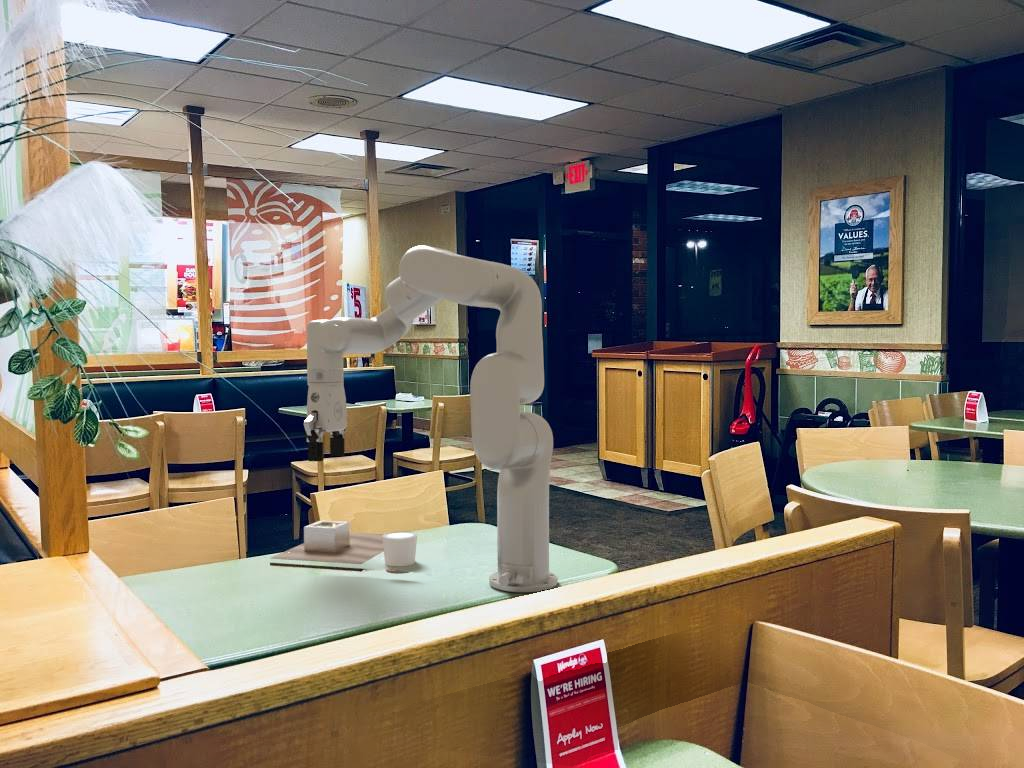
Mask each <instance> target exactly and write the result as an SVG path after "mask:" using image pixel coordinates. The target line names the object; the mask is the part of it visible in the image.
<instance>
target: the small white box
mask: <svg viewBox="0 0 1024 768" xmlns="http://www.w3.org/2000/svg"><path fill="white" fill-rule="evenodd" d="M323 526H333V527H323ZM349 533H350V521H338V520H337V521H335V520H317V521H315V522H313V523H310V524H308V525H306V526H304V527H303V543H304V551H320V552H336V551H338V550H340V549H342V548H344V547H346V546H348V545H350V535H349Z"/></svg>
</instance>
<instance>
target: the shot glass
mask: <svg viewBox="0 0 1024 768" xmlns="http://www.w3.org/2000/svg"><path fill="white" fill-rule="evenodd" d="M382 537H383V547H384V551H383V556H384V564H385V565H387V566H390V567H405V566H406V567H407V566H411V565H414V564H415V563H416V553H417V540H418V534H417V533H416V532H411V531H392V532H387V533H384V535H383V536H382ZM385 572H386V573H389V574H395V575H397V574H398V575H400V574H401V575H402V574H409V573H410V571H409V570H408V571H404V570H391V569H389V570H388V569H385Z"/></svg>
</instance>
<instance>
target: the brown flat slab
mask: <svg viewBox="0 0 1024 768" xmlns="http://www.w3.org/2000/svg"><path fill="white" fill-rule="evenodd" d="M384 534H385V533H384ZM384 534H383V533H364V532H363V533H362V532H349V535H350V545H348V546H346V547H344V548H342V549H340V550H338V551H336V552H320V551H304V542H303V543H301V544H299V545H297V546H294V547H292V548H289V549H288V550H285V551H283V552H281V553H279V554H275V555H274V556H271V557H270V559H273V560H274V559H276V560H288V561H289V560H290V561H305V562H307V561H308V562H320V563H321V562H323V563H335V564H336V563H338V564H353V565H354V564H356V565H362V564H364V563H365V562H368V561H369V560H371V559H372V558H374V557H376V556H378V555H380V554H381V553H384V547H383V537H382V536H383V535H384ZM288 552H290V553H288ZM269 566H273V567H289V568H301V569H302V568H305V569H317V570H331V571H332V570H333V571H335V570H336V571H348V572H349V571H350V572H363V571H365V568H361V567H360V568H358V567H346V566H345V567H344V566H343V567H342V566H329V565H328V566H327V565H316V564H315V565H312V564H297V563H285V562H284V563H281V562H269Z"/></svg>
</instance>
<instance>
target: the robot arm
mask: <svg viewBox="0 0 1024 768" xmlns="http://www.w3.org/2000/svg"><path fill="white" fill-rule="evenodd" d="M398 275H399V277H396V279H394V280H392V281H391V282H389V283H388V285H387V286H386V288H385V290H384V298H385V301H386V304H387V306H388V307H387V308H386V309H384V310H383V311H382V312H380V313H379V314H377V315H376V316H374V317H371V318H364V317H346V316H345V317H344V316H343V317H342V316H341V317H335V318H332V319H316V320H310V321H309V322H308V323H307V324H306V363H307V365H306V366H307V367H306V368H307V373H306V374H307V377H306V378H307V379H306V380H307V386H308V390H307V400H306V401H307V402H306V419H305V420H303V421H304V422H303V426H304V427H303V428H304V430H305V432H304V434H305V436H306V442H307V460H308V462H323V461H324V441H322V440H323V436H324V434H325V432H327V433H330V436H331V437H329V455H330V456H332V457H344V456H345V454H346V453H345V438H346V429H347V427H348V413H347V411H348V409H347V397H346V392H345V391H346V390H345V387H344V381H345V380H344V355H356V354H360V355H363V354H365V355H373V354H374V355H375V354H378V353H381V352H383V351H384V350H386V349H388V348H390V347H392V345H394V344H396V343H397V342H398V341H400V340H401V339H403V338H404V337H405V336H406V335H407V334H408V332H409V331H410V329H411V328H412V326H413V323H414V320H415V319H417V318H418V317H419V316H421V315H423V314H424V313H425V312H427V311H428V310H429V309H431V308H433V307H434V306H435V305H437V304H439V303H440V302H441V301H444V300H445V301H448V302H451V303H454V304H455V303H456V304H459V305H463V306H469V307H478V308H490V309H496V310H499V311H500V314H499V317H498V319H497V324H496V329H495V339H496V352H492V353H489V354H487V355H486V356H483V357H482V358H481V359H480V360H479V361H478V362H477V363H476V364H475V367H474V369H473V371H472V374H471V378H470V385H469V387H470V389H469V391H470V392H469V396H470V397H469V398H470V421H471V422H470V423H471V425H470V426H471V442H472V447H473V450H474V454H475V456H476V457H477V459H478V461H480V463H481V464H482V465H484V466H485V467H486V468H488V469H491V470H497V471H499V470H500V471H499V474H498V479H497V487H496V488H497V493H496V495H497V499H496V502H497V503H496V507H497V509H496V510H497V511H496V512H497V513H496V518H497V520H496V521H497V522H496V523H497V528H496V529H497V543H496V544H497V572H494V573H492V574H491V575H490V576H489V578H488V579H489V581H488V582H489V585H490V586H491V587H492V588H494V589H496V590H499V591H504V592H510V593H538V592H543V591H542V590H544V591H547V589H548V590H550V589H553V588H555V587H556V586H557V584H558V576H557V575H556V574H555V573H554V572H552V571H550V474H551V466H552V465H551V464H552V457H553V450H554V436H553V430H552V428H551V427H550V424H549V422H548V421H547V420H546V419H545V418H544V417H542V416H541V415H539V414H537V413H534V412H529V411H521V407H520V406H522V405H526V404H531V403H533V402H535V401H536V400H538V399H539V398H540V397H541V395H542V394H543V391H544V388H545V369H544V368H545V367H544V341H543V340H544V339H543V326H542V325H543V302H542V301H543V300H542V296H541V292H540V289H539V287H538V284H537V283H536V282H535V280H534V279H533V278H532V277H531V275H529V274H527V273H526V272H525V271H523V270H521V269H519V268H516V267H514V266H512V265H508V264H504V263H502V262H501V263H500V262H495V261H489V260H485V259H479V258H475V257H470V256H465V255H461V254H457V253H455V252H453V251H451V250H447V249H444V248H439V247H435V246H429V245H417V246H414V247H412V248H409V249H408V250H407V251H406V252H405V253H404V254H403V256H402V257H401V259H400V261H399V265H398Z"/></svg>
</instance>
